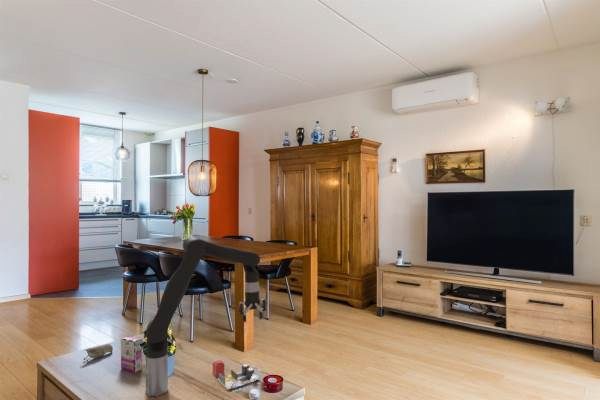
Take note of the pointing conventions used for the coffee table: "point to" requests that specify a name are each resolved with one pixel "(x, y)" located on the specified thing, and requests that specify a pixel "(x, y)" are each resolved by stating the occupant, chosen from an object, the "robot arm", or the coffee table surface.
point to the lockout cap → (218, 368)
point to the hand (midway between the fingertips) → (252, 320)
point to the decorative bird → (98, 351)
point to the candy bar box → (131, 354)
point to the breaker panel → (232, 379)
